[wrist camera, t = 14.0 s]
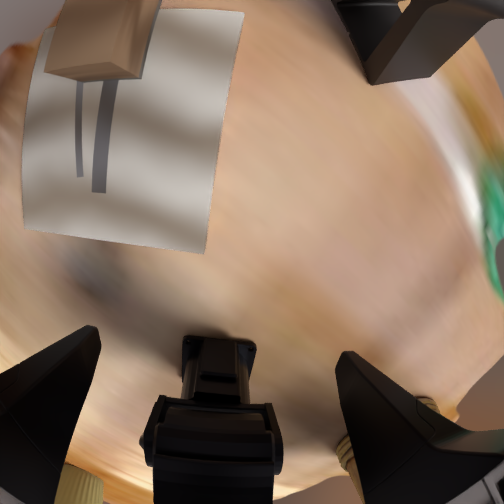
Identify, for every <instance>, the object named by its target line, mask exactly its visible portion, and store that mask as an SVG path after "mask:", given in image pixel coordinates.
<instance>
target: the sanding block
mask: <svg viewBox="0 0 504 504" xmlns="http://www.w3.org/2000/svg"><path fill="white" fill-rule="evenodd" d="M161 2H162V0H66V1H65V4H64V6H63V9H62V11H61V14H60V17H59V19H58V22H57V25H56V28H55V31H54V34H53V38H52V41H51V44H50V48H49V52H48V55H47V59H46V63H45V68H44V73H48V74H53V75H57V76H61V77H65V78H69V79H72V80H76V81H80V82H83V83H87V82H97V81H110V80H131V79H142V75H143V70H144V65H145V61H146V56H147V52H148V48H149V44H150V40H151V36H152V32H153V29H154V25H155V22H156V18H157V15H158V12H159V9H160V6H161Z"/></svg>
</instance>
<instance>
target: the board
mask: <svg viewBox="0 0 504 504" xmlns="http://www.w3.org/2000/svg"><path fill="white" fill-rule="evenodd" d="M243 21H244V13H243V12H234V11H224V10H210V9H159V12H158V15H157V18H156V22H155V25H154V29H153V32H152V36H151V40H150V44H149V48H148V52H147V56H146V61H145V65H144V70H143V75H142V79H131V80H110V81H97V82H87V83H83V82H80V81H76V80H72V79H69V78H65V77H61V76H57V75H53V74H48V73H44V68H45V63H46V59H47V55H48V52H49V48H50V44H51V41H52V38H53V34H54V31H55V28H56V26H54V27H51V28H48V29H45V31H44V34H43V37H42V40H41V43H40V47H39V50H38V54H37V58H36V62H35V66H34V70H33V74H32V79H31V84H30V89H29V95H28V101H27V108H26V115H25V124H24V134H23V148H22V204H23V218H24V229H29V230H35V231H42V232H49V233H56V234H62V235H69V236H76V237H83V238H90V239H97V240H104V241H111V242H118V243H125V244H132V245H140V246H147V247H154V248H161V249H169V250H176V251H183V252H191V253H198V254H204V253H205V249H206V241H207V233H208V224H209V216H210V208H211V201H212V193H213V186H214V179H215V172H216V165H217V159H218V152H219V146H220V139H221V133H222V127H223V121H224V116H225V110H226V104H227V99H228V93H229V88H230V83H231V78H232V73H233V68H234V63H235V58H236V53H237V48H238V44H239V39H240V35H241V30H242V26H243Z"/></svg>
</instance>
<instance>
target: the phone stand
mask: <svg viewBox="0 0 504 504" xmlns="http://www.w3.org/2000/svg"><path fill="white" fill-rule="evenodd" d="M399 1H405V0H331V2H332V4H333V5H334V7H335V9H336V11H337V13H338V15H339V16H340V18H341V20H342V22H343V24H344V26H345V28H346V30H347V31H348V32H349V36H350V39H351V41H352V43H353V45H354V47H355V50H356V52H357V54H358V56H359V59H360V61H361V63H362V66H363V68H364V71H365V73H366V76H367V79H368V81H369V83H370V85H372V86H373V85H379V84H384V83H390V82H397V81H404V80H411V79H419V78H428V77H431V76H432V75H433V74H434V73H435V72H436V71H437V70H438V69H439V68H440V67H441V66H442V65H443V64H444V63H445V62H446V61H447V60H448V59H449V58H450V57H451V56H452V55H453V54H455V53H456V52H457V51H458V50H459V49H460V48H461V47H462V46H463V45H464V44H465V43H466V42H467V41H468V40H469V39H470V38H471V37H472V36H473V35H474V34H475V33H476V32H477V31H479V30H480V29H481V27H483V26H484V25H485V24H486V23H487V22H488V21H491V20H493V19H504V0H411V2H410V4H409V5H408V7H407V8H406V9H405V10H404V12H403V13H402V12H401V11H400V9H399V7H398V2H399Z"/></svg>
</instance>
